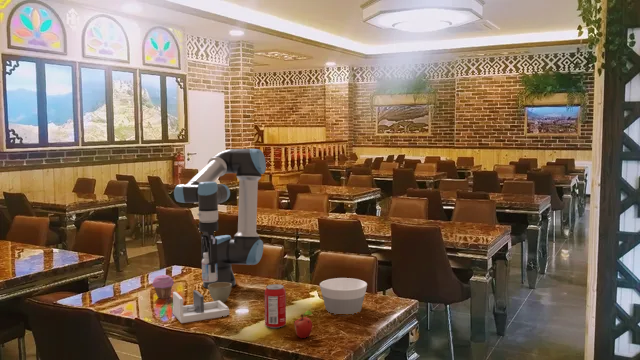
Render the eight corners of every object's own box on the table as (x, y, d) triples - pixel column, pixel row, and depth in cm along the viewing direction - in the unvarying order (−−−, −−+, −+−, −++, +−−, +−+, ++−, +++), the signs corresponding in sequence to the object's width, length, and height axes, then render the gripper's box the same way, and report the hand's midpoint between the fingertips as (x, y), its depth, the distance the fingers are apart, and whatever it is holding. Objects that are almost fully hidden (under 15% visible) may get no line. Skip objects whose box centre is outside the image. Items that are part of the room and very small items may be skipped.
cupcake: (161, 301, 247) (160, 278, 246) (148, 298, 252) (148, 275, 251) (178, 296, 254) (177, 274, 253) (165, 293, 259) (164, 271, 259)
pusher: (196, 309, 233) (196, 289, 232) (204, 316, 224) (203, 296, 223) (184, 311, 231) (183, 291, 230) (191, 318, 221) (190, 298, 221)
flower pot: (236, 299, 250) (235, 282, 249) (225, 305, 240) (224, 288, 240) (215, 297, 253) (215, 281, 252) (203, 303, 243) (203, 286, 243)
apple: (290, 339, 200) (289, 311, 199) (297, 333, 206) (297, 305, 206) (310, 342, 197) (310, 313, 196) (318, 335, 204) (317, 307, 203)
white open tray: (219, 306, 239) (218, 285, 238) (229, 315, 227) (229, 293, 226) (172, 313, 230) (172, 291, 229) (181, 323, 218) (180, 299, 217)
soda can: (268, 330, 209) (268, 290, 208) (262, 324, 216) (261, 285, 215) (289, 327, 212) (288, 287, 211) (281, 321, 219) (281, 282, 218)
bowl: (342, 300, 247) (342, 275, 246) (377, 309, 233) (377, 283, 232) (309, 310, 233) (309, 283, 233) (344, 320, 220) (344, 292, 219)
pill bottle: (219, 279, 232) (219, 251, 231) (214, 283, 226) (213, 254, 225) (205, 278, 233) (205, 251, 232) (199, 282, 227) (198, 254, 226)
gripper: (192, 218, 234) (193, 274, 236) (206, 225, 217) (207, 285, 219) (210, 217, 237) (211, 272, 239) (225, 223, 221) (226, 282, 222)
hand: (209, 278), depth 229 cm, fingers closed on pill bottle, 6 cm apart
